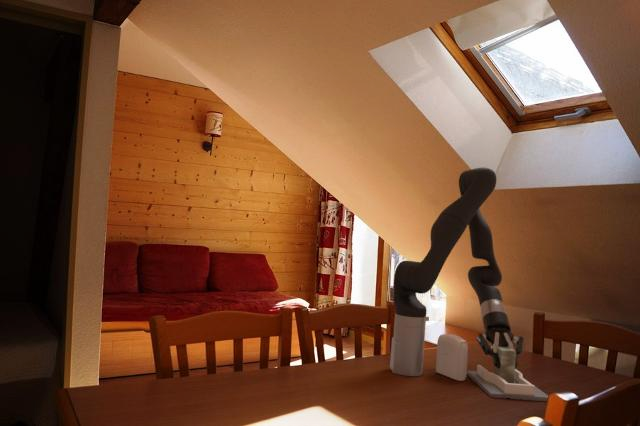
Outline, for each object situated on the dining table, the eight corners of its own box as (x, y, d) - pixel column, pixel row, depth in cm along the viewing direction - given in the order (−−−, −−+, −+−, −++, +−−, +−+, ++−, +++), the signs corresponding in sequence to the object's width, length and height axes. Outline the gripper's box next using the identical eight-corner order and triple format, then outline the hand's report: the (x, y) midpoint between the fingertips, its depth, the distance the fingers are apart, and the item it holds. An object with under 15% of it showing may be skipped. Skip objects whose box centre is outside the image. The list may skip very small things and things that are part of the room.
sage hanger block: (500, 382, 150) (502, 350, 150) (493, 377, 155) (495, 346, 155) (513, 383, 150) (516, 351, 150) (507, 378, 155) (509, 347, 155)
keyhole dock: (490, 397, 139) (491, 384, 139) (466, 373, 161) (467, 362, 161) (550, 401, 140) (551, 388, 140) (518, 377, 162) (518, 366, 162)
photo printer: (433, 372, 161) (436, 331, 161) (443, 371, 163) (446, 331, 163) (457, 382, 152) (460, 339, 152) (468, 380, 154) (471, 338, 154)
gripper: (475, 308, 160) (485, 358, 148) (521, 312, 161) (535, 362, 148) (468, 322, 165) (478, 372, 153) (513, 326, 166) (526, 376, 153)
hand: (506, 367), depth 151 cm, fingers closed on sage hanger block, 4 cm apart
